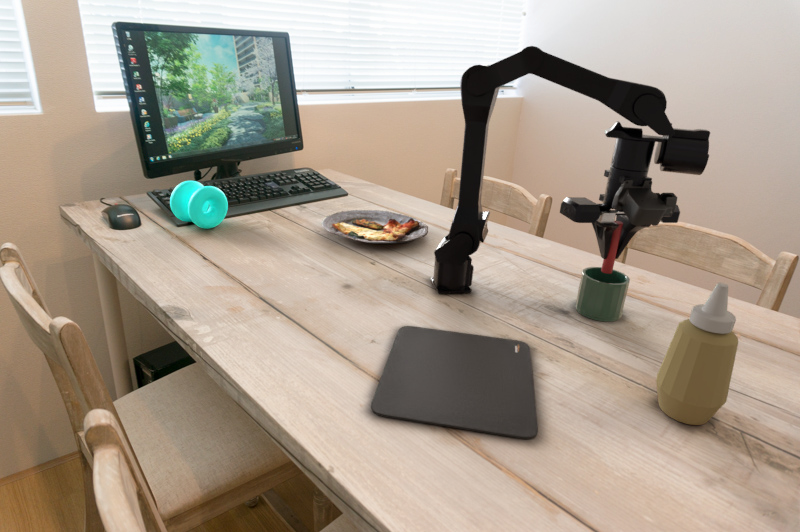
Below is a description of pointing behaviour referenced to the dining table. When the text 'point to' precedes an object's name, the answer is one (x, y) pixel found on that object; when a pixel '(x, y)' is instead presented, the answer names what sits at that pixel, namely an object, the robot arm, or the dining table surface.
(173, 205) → the turquoise spool
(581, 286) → the cup
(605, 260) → the red wooden peg
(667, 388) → the squeeze bottle
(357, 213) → the food plate
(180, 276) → the dining table surface
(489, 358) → the mouse pad
